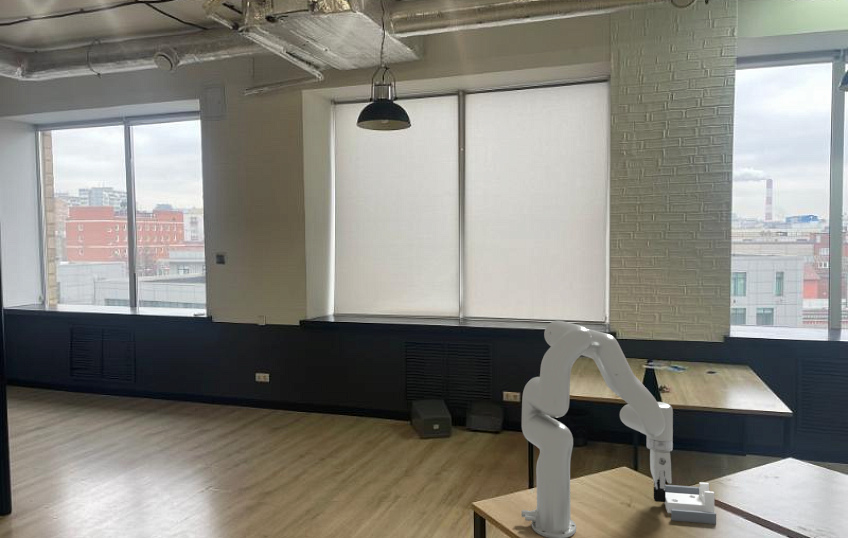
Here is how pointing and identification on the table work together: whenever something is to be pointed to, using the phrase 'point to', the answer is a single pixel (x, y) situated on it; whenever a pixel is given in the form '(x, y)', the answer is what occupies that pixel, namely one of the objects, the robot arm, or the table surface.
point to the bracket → (691, 500)
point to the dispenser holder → (689, 514)
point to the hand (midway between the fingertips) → (659, 500)
